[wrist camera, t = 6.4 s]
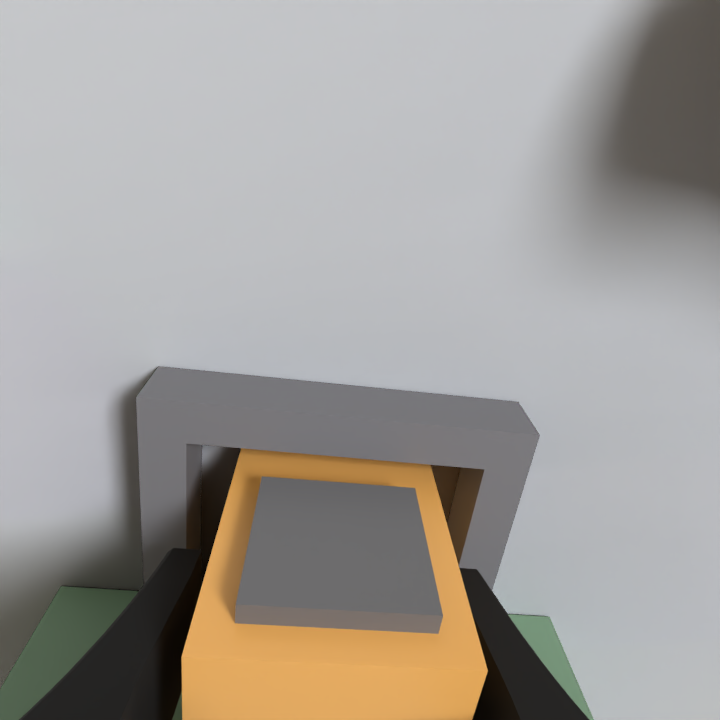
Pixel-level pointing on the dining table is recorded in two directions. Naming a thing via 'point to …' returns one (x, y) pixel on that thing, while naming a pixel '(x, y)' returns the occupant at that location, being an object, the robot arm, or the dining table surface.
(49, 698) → the robot arm
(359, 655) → the chute block
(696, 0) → the dining table surface
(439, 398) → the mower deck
